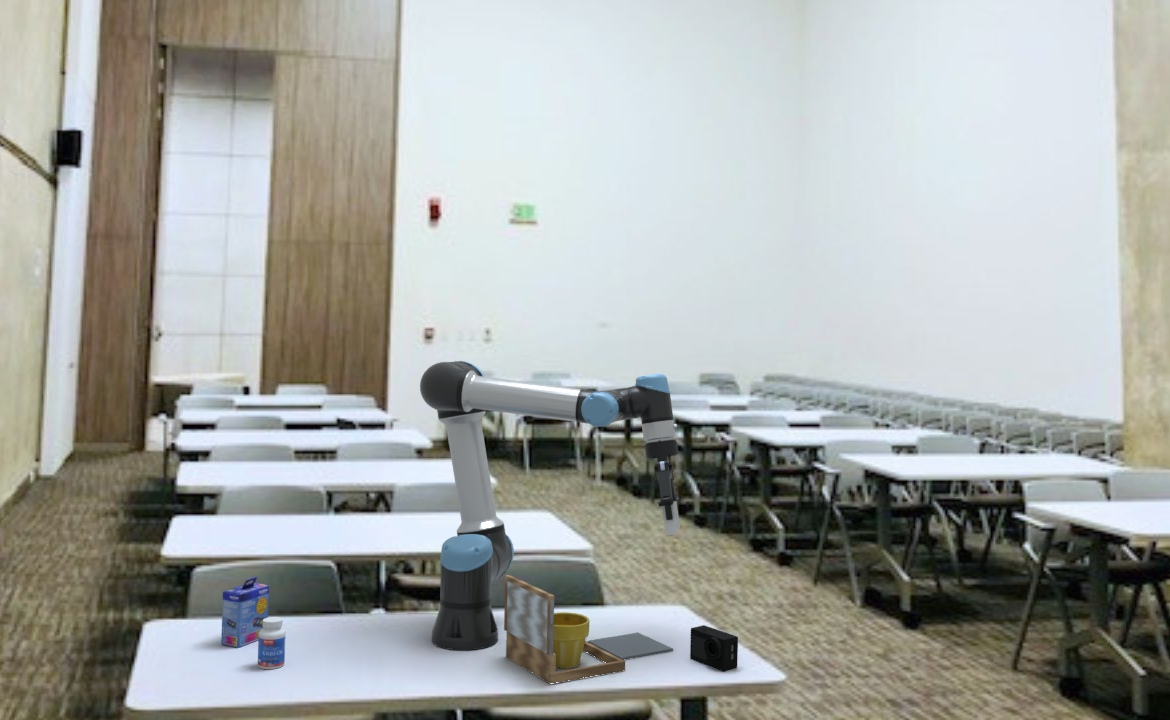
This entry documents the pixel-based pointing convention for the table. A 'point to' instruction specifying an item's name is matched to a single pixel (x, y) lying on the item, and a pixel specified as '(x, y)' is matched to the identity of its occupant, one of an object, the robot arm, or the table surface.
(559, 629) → the plant pot
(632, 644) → the mat
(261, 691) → the table surface
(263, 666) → the pill bottle
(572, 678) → the cold frame
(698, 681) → the table surface
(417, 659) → the table surface
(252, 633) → the ink cartridge box
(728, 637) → the digital camera
